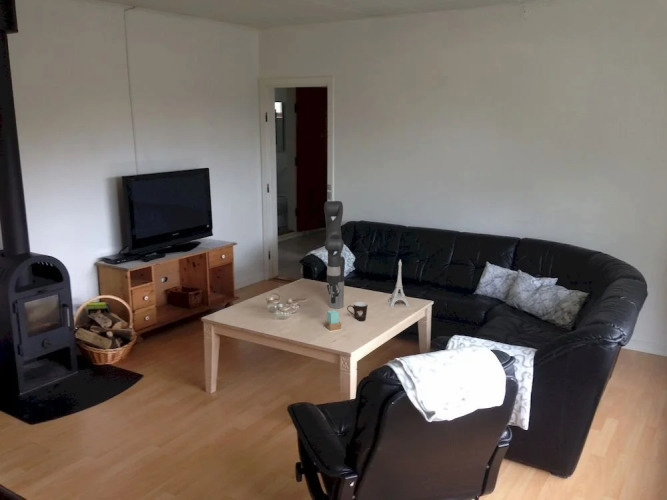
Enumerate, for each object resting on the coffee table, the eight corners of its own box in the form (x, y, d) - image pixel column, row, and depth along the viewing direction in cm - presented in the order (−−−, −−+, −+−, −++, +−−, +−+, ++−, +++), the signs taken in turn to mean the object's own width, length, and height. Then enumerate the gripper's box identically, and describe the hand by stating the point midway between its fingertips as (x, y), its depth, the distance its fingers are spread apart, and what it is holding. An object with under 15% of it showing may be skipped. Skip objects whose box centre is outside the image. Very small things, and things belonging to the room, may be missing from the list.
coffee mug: (369, 319, 365) (370, 303, 363) (363, 323, 358) (363, 307, 356) (353, 315, 371) (353, 300, 369) (346, 319, 364) (346, 303, 362)
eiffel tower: (386, 300, 403) (388, 257, 396) (406, 300, 404) (408, 257, 397) (389, 307, 390) (391, 262, 383) (410, 306, 391) (412, 262, 384)
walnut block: (324, 327, 346) (324, 320, 345) (335, 325, 349) (335, 319, 348) (330, 331, 340) (330, 324, 339) (341, 329, 343) (341, 322, 342)
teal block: (326, 321, 345) (327, 311, 343) (334, 319, 347) (334, 309, 346) (330, 323, 340) (331, 313, 339) (338, 322, 343) (338, 312, 341)
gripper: (322, 271, 341) (322, 300, 345) (333, 277, 330) (332, 307, 334) (334, 270, 345) (333, 299, 349) (345, 275, 333) (344, 305, 337)
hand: (333, 303), depth 341 cm, fingers closed
